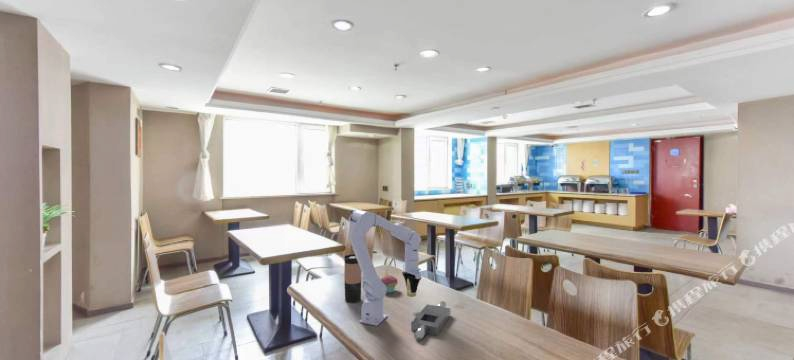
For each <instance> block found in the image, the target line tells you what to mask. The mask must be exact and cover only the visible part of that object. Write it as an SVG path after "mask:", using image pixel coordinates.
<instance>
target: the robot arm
mask: <svg viewBox="0 0 794 360" xmlns="http://www.w3.org/2000/svg"><path fill="white" fill-rule="evenodd" d="M348 222H349V228H348V239H349V243H350V244H351V249H352V250H353V252H354V253H353V254H355V256H356V258H357V261H358V264H359V266H360V269H361V275H362V276H361V282H362V290H363V291H364V292H365V293H364V294H365V295H364V296H365V297H364V298H365V299H364V302H363V303H362V304H361V308H360V314H361V315H360V318H361V319H360V320H359V321H358V322H359V323H362V324H366V325H367V324H368V325H372V326H378V325H379V324H381V323H382V322H383V321H384V320H385V319H386V318H387V317H388V314H384V298H385V296H386V294H387V292H386V291H387V288H386V285H385V284H384V283H383V282H382V281H381V279H382V278H381V277H380V276H379V275H378V273H377V271H376V268H375V266H374V263H373V261H372V257H371V256H370V255H371V254H370V252H369V249H368V246H367V244H366V240H365V239H364V238H365V235H366V234H367V233H368V232H369V230H371V229H372V228H373V226H374V227H377V226H380V227H381V228H383V229H386V230H387V231H390V235H391V236H393V237H395V238H396V239H398V240H400V241H402V242H403V243H404V264H403V266H402V269H403V272H401V273H402V276H403V278H404V281H405V287H406V288H407V278H408V279H409V282H410V289H411V293H415V292H416V293H417V290H418V286H419V283H420V281H421V280H422V274H421V272H420V271H421V270H422V269H421V267H419V250H420V249H419V248H420V244H421V242H422V238H421V235H420V233H419V232H417V231H414V230H413V228H412V227H407V226H405V225H404V223H402V222H395V223H393V222H391V221H389V220H388V219H386V218H385V217H383V216H381V215H379V214H377V213H373V212H371V211H365V210H362V209H357V208H356V209H355V210H353V211H352V213H351V214H350V215H349V217H348Z"/></svg>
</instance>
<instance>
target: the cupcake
mask: <svg viewBox="0 0 794 360" xmlns="http://www.w3.org/2000/svg"><path fill="white" fill-rule="evenodd" d="M388 274H389V272H388V269H387V268H385V275H386V276H383V277H382V278H381V281H382V282H383V283H384V284H385V285H386V288H387V291H386V293H388V294H389V293H393V292H394V291H395V288H396V286H397V285H398V279H397V278H396V277H394V276H393V275H388Z"/></svg>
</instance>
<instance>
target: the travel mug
mask: <svg viewBox="0 0 794 360" xmlns="http://www.w3.org/2000/svg"><path fill="white" fill-rule="evenodd" d="M343 275H344V278H343V279H344V282H343V283H344V299H345V300H344V301H345V302H346V303H350V304H354V303H359V302H360V301H361V300H362V272H361V269H360V266H359V264H358V261H357V258H356V256H355V253H353V254H348V255H344V274H343Z"/></svg>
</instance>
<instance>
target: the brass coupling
mask: <svg viewBox="0 0 794 360" xmlns="http://www.w3.org/2000/svg"><path fill="white" fill-rule="evenodd" d="M406 296H407V297H410V298H414V297H416V296H417V291H416V292H415V293H411V289H410V282H409V279H408V278H407V287H406Z"/></svg>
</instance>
